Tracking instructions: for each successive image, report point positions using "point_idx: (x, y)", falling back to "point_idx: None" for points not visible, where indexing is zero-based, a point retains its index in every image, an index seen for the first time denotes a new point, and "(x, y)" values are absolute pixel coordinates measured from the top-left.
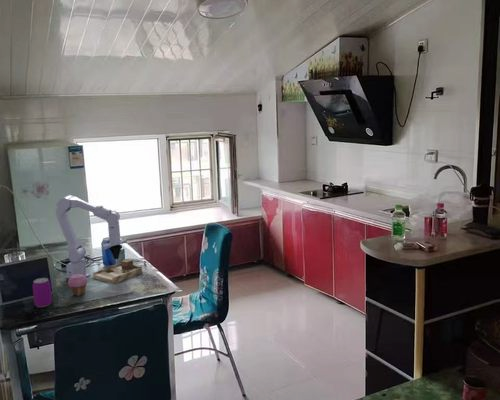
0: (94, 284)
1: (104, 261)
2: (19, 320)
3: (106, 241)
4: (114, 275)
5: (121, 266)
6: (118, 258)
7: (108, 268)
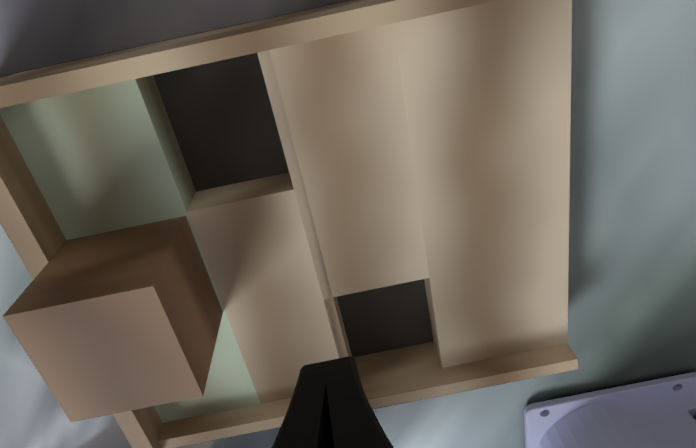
0: (689, 136)
1: None
2: None
3: None
4: (432, 144)
5: None
6: (300, 371)
7: None
